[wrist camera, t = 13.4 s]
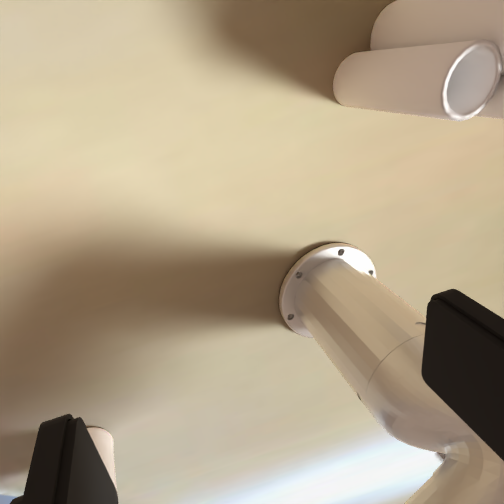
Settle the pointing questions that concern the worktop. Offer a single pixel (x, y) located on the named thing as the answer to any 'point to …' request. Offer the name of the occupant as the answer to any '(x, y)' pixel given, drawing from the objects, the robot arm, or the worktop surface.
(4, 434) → the worktop surface
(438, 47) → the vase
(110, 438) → the drinking glass
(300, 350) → the worktop surface
